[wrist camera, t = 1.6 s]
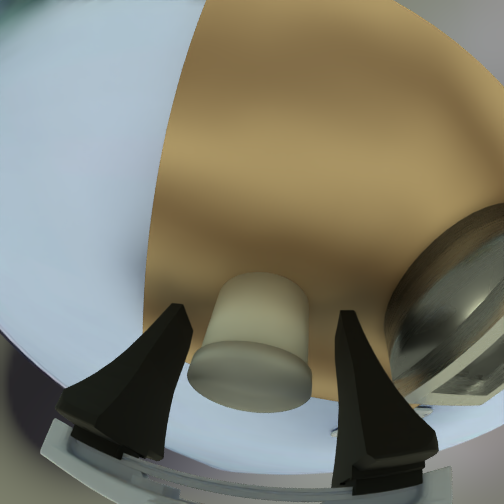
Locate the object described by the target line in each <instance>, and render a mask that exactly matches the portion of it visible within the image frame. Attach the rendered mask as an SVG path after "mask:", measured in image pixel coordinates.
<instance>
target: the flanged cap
mask: <svg viewBox="0 0 504 504" xmlns="http://www.w3.org/2000/svg"><path fill="white" fill-rule="evenodd" d="M308 341H309V302H308V299H307V296H306V295H305V293H304V292H303V290H302V289H301V288H300V287H299V286H298V285H297V284H295V283H294V282H292V281H291V280H289V279H287V278H285V277H282V276H280V275H276V274H272V273H266V272H250V273H245V274H241V275H238V276H236V277H234V278H232V279H230V280H229V281H227V282H226V283H225V284H224V285H223V287H222V288H221V290H220V292H219V295H218V298H217V301H216V304H215V307H214V310H213V313H212V316H211V319H210V322H209V325H208V328H207V331H206V334H205V337H204V340H203V343H202V346H201V348H200V349H198V350H197V351H196V352H195V353H194V355H193V357H192V360H191V363H190V366H189V369H188V373H187V378H188V381H189V383H190V384H191V386H192V387H193V388H194V389H195V390H196V391H197V392H198V393H200V394H201V395H202V396H204V397H206V398H207V399H209V400H211V401H213V402H215V403H218V404H220V405H223V406H226V407H229V408H233V409H237V410H242V411H248V412H257V413H274V412H283V411H288V410H292V409H295V408H297V407H299V406H301V405H303V404H305V403H306V402H307V401H308V400H309V399H310V397H311V395H312V377H313V375H312V371H311V369H310V367H309V366H308Z"/></svg>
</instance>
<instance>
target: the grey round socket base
mask: <svg viewBox="0 0 504 504" xmlns="http://www.w3.org/2000/svg"><path fill="white" fill-rule="evenodd" d="M384 335H385V340H386V345H387V351H388V356H389V362H390V369H391V375H392V382H393V384H394V385H395V387H396V388H397V389H398V391H399V392H400V394H401V395H402V396H403V397H404V398H405V400H406V401H407V402H408V403H409V404H424V405H451V406H471V405H482V404H483V403H485V402H486V401H488V400H489V399H491V398H492V397H493V396H495V395H496V394H498V393H499V392H500V391H502V390H503V389H504V203H498V204H495V205H491V206H488V207H485V208H483V209H480V210H478V211H476V212H474V213H472V214H470V215H468V216H467V217H465V218H463V219H461V220H460V221H458V222H457V223H456V224H454V225H453V226H451V227H450V228H449V229H447V230H446V231H445V232H443V233H442V234H441V235H440V236H439V237H438V238H436V239H435V240H434V241H433V242H432V243H431V244H430V245H429V246H428V247H427V248H426V249H425V250H424V251H423V252H422V253H421V254H420V255H419V256H418V257H417V259H416V260H415V261H414V262H413V263H412V264H411V266H410V267H409V268H408V270H407V271H406V272H405V274H404V275H403V277H402V278H401V279H400V281H399V283H398V285H397V286H396V288H395V290H394V291H393V293H392V296H391V298H390V300H389V303H388V305H387V309H386V312H385V317H384Z"/></svg>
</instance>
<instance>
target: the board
mask: <svg viewBox="0 0 504 504" xmlns="http://www.w3.org/2000/svg"><path fill="white" fill-rule="evenodd" d="M498 203H504V87H503V85H502V84H501V83H500V82H499V81H498V80H497V79H496V78H495V77H494V76H493V75H492V74H491V73H490V72H489V71H488V70H487V69H486V68H485V67H484V66H483V65H482V64H481V63H479V62H478V61H477V60H476V59H475V58H474V57H473V56H472V55H471V54H469V53H468V52H467V51H466V50H465V49H464V48H462V47H461V46H460V45H459V44H457V43H456V42H455V41H454V40H452V39H451V38H450V37H449V36H447V35H446V34H445V33H443V32H442V31H440V30H439V29H438V28H436V27H435V26H434V25H432V24H431V23H429V22H428V21H426V20H425V19H423V18H422V17H420V16H419V15H417V14H415V13H414V12H412V11H411V10H409V9H407V8H406V7H404V6H402V5H401V4H399V3H397V2H395V1H393V0H206V3H205V5H204V8H203V10H202V13H201V15H200V18H199V21H198V23H197V26H196V29H195V32H194V35H193V38H192V40H191V43H190V46H189V50H188V53H187V56H186V59H185V62H184V65H183V69H182V72H181V76H180V79H179V83H178V86H177V90H176V94H175V97H174V101H173V105H172V109H171V113H170V118H169V122H168V126H167V131H166V135H165V140H164V145H163V150H162V155H161V160H160V165H159V171H158V176H157V182H156V188H155V195H154V201H153V208H152V216H151V224H150V232H149V241H148V250H147V261H146V273H145V288H144V308H143V333H144V332H145V331H146V330H147V329H148V328H149V327H150V326H151V325H152V324H153V323H154V322H155V321H156V319H157V318H158V317H159V316H160V315H161V314H162V313H163V312H164V311H165V310H166V309H167V308H168V307H169V306H170V305H171V303H178V304H183V305H184V307H185V310H186V313H187V315H188V318H189V321H190V323H191V326H192V328H193V336H192V340H191V345H190V349H189V352H188V355H187V357H186V360H185V362H187V363H189V364H190V363H191V360H192V357H193V355H194V353H195V352H196V351H197V350H198V349H200V348H201V346H202V343H203V340H204V337H205V334H206V331H207V328H208V325H209V322H210V319H211V316H212V313H213V310H214V307H215V304H216V301H217V298H218V295H219V292H220V290H221V288H222V287H223V285H224V284H225V283H226V282H227V281H229V280H230V279H232V278H234V277H236V276H238V275H241V274H245V273H250V272H266V273H272V274H276V275H280V276H282V277H285V278H287V279H289V280H291V281H292V282H294V283H295V284H297V285H298V286H299V287H300V288H301V289H302V290H303V292H304V293H305V295H306V296H307V299H308V302H309V341H308V366H309V367H310V369H311V371H312V375H313V377H312V395H311V397H315V398H320V399H326V400H332V401H338V388H337V377H336V367H335V334H336V329H337V324H338V319H339V314H340V310H354V311H355V312H356V315H357V317H358V320H359V322H360V324H361V327H362V329H363V331H364V333H365V335H366V338H367V340H368V342H369V343H370V345H371V347H372V349H373V351H374V353H375V355H376V357H377V359H378V360H379V362H380V364H381V365H382V367H383V369H384V370H385V372H386V373H387V375H388V377H389V378H390V380H391V381H392V375H391V369H390V362H389V356H388V351H387V345H386V340H385V335H384V317H385V312H386V309H387V305H388V303H389V300H390V298H391V296H392V293H393V291H394V290H395V288H396V286H397V285H398V283H399V281H400V279H401V278H402V277H403V275H404V274H405V272H406V271H407V270H408V268H409V267H410V266H411V264H412V263H413V262H414V261H415V260H416V259H417V257H418V256H419V255H420V254H421V253H422V252H423V251H424V250H425V249H426V248H427V247H428V246H429V245H430V244H431V243H432V242H433V241H434V240H435V239H436V238H438V237H439V236H440V235H441V234H442V233H443V232H445V231H446V230H447V229H449V228H450V227H451V226H453V225H454V224H456V223H457V222H458V221H460V220H461V219H463V218H465V217H467V216H468V215H470V214H472V213H474V212H476V211H478V210H480V209H483V208H485V207H488V206H491V205H495V204H498ZM338 402H339V401H338ZM409 405H410V406H411V407H412V408H413V409H414V408H416V407H417V406H419V405H421V404H409Z"/></svg>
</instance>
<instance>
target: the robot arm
mask: <svg viewBox="0 0 504 504" xmlns="http://www.w3.org/2000/svg"><path fill="white" fill-rule="evenodd" d="M192 336H193V328H192V326H191V323H190V321H189V318H188V315H187V313H186V310H185V307H184V305H183V304H178V303H171V305H170V306H169V307H168V308H167V309H166V310H165V311H164V312H163V313H162V314H161V315H160V316H159V317H158V318H157V319H156V321H155V322H154V323H153V324H152V325H151V326H150V327H149V328H148V329H147V330H146V331H145V332H144V333H143V334H142V335H141V336H140V337H139V338H138V339H137V340H136V341H135V342H134V343H133V344H132V345H131V346H130V347H129V348H128V349H127V350H126V351H124V352H123V353H122V354H121V355H120V356H118V357H117V358H116V359H115V360H113V361H112V362H111V363H109V364H108V365H106V366H105V367H104V368H102V369H101V370H99V371H98V372H96V373H95V374H93V375H91V376H90V377H88V378H86V379H84V380H82V381H80V382H78V383H76V384H74V385H72V386H70V387H68V388H65V389H64V390H63V392H62V394H61V396H60V398H59V400H58V402H57V404H56V406H55V409H56V411H57V412H59V413H60V414H61V415H62V416H64V417H65V418H66V419H68V420H69V421H70V422H72V423H73V424H75V425H74V428H71V427H70V426H68V425H67V424H64V423H63V422H61V421H59V420H58V419H56V418H55V419H54V420H53V423H52V425H51V427H50V429H49V432H48V434H47V436H46V439H45V441H44V444H43V446H42V448H41V451H40V453H41V454H42V455H43V456H45V457H46V458H48V459H49V460H50V461H52V462H53V463H54V464H56V465H57V466H59V467H60V468H62V469H63V470H64V471H66V472H67V473H69V474H70V475H71V476H73V477H74V478H76V479H78V480H79V481H80V482H82V483H83V484H85V485H86V486H88V487H89V488H91V489H93V490H94V491H96V492H98V493H99V494H101V495H103V496H104V497H106V498H108V499H110V500H112V501H113V502H115V503H117V504H202V503H198V502H193V501H189V500H186V499H181V498H179V495H180V489H177V488H173V487H170V486H167V485H164V484H161V483H158V482H155V481H152V480H150V479H149V478H148V476H147V474H148V475H151V476H154V477H157V478H160V479H163V480H166V481H169V482H173V483H176V484H180V485H184V486H187V487H191V488H196V489H200V490H204V491H209V492H214V493H219V494H225V495H231V496H237V497H244V498H252V499H261V500H273V501H291V502H322V503H320V504H452V469H451V466H448V467H445V468H441V469H438V470H434V471H430V472H427V473H424V474H423V473H422V469H423V468H425V460H427V459H429V458H430V457H432V456H434V455H435V454H437V452H438V451H439V448H438V441H437V437H436V433H435V431H434V430H433V429H432V428H431V427H430V426H429V425H428V424H427V423H426V422H425V421H424V420H423V419H422V418H424V417H425V416H427V415H429V414H431V413H432V412H433V409H432V408H414V409H413V408H412V407H411V406H410V405H409V403H408V402H407V401H406V400H405V398H404V397H403V396H402V395H401V394H400V392H399V391H398V389H397V388H396V387H395V385H394V384H393V382H392V381H391V380H390V378H389V377H388V375H387V373H386V372H385V370H384V369H383V367H382V365H381V364H380V362H379V360H378V359H377V357H376V355H375V353H374V351H373V349H372V347H371V345H370V343H369V342H368V340H367V338H366V335H365V333H364V331H363V329H362V327H361V324H360V322H359V320H358V317H357V315H356V312H355V311H354V310H340V314H339V319H338V324H337V329H336V334H335V367H336V377H337V388H338V401H339V414H338V430H336V431H333V432H332V433H331V436H332V437H337V445H336V455H335V463H334V471H333V478H332V487H331V488H319V489H318V488H315V489H304V488H298V489H297V488H278V487H264V486H255V485H247V484H239V483H232V482H226V481H221V480H215V479H210V478H205V477H201V476H196V475H192V474H188V473H184V472H180V471H176V470H173V469H169V468H166V467H162V466H159V465H156V464H153V463H150V462H147V461H144V460H141V459H139V457H141V458H144V459H145V458H149V459H152V460H155V461H160V460H162V459H163V457H164V446H165V437H166V430H167V423H168V418H169V412H170V407H171V403H172V399H173V394H174V391H175V388H176V385H177V382H178V379H179V376H180V374H181V371H182V368H183V366H184V363H185V360H186V357H187V355H188V352H189V349H190V345H191V340H192Z"/></svg>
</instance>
